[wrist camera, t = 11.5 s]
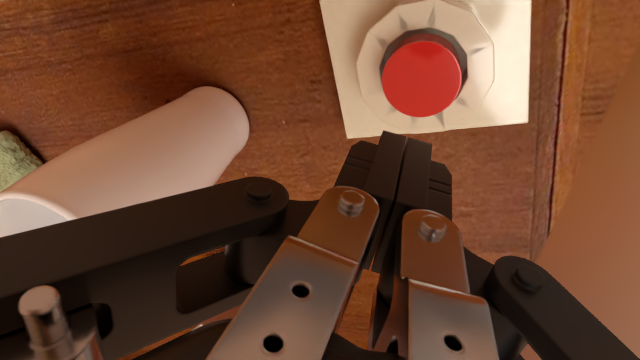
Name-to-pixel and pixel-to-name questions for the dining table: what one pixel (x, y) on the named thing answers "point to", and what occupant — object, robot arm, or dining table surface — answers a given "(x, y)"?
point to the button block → (454, 25)
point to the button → (422, 75)
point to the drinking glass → (132, 163)
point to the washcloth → (14, 159)
